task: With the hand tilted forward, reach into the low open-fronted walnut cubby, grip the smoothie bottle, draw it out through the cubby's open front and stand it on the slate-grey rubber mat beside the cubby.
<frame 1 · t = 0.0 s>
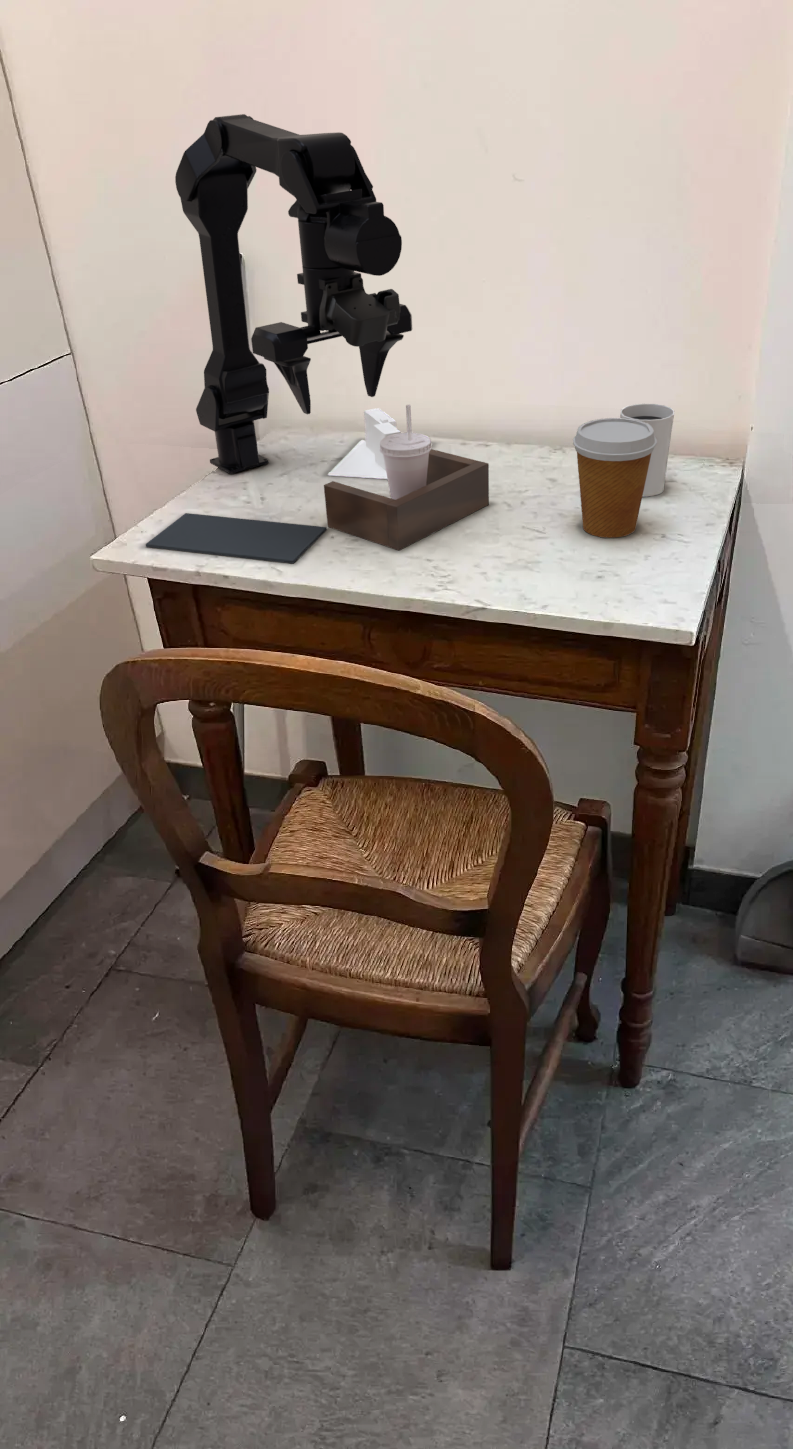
hand: (339, 404, 126), 15 cm above the table, tool pointing down, fingers open, 9 cm apart
napkin holder: (381, 460, 152), on the table
mat: (236, 538, 131), on the table
cubby: (408, 515, 135), on the table
white paper cup: (641, 489, 138), on the table
smoothie: (409, 517, 135), on the table
disposable coffee cup: (609, 529, 128), on the table
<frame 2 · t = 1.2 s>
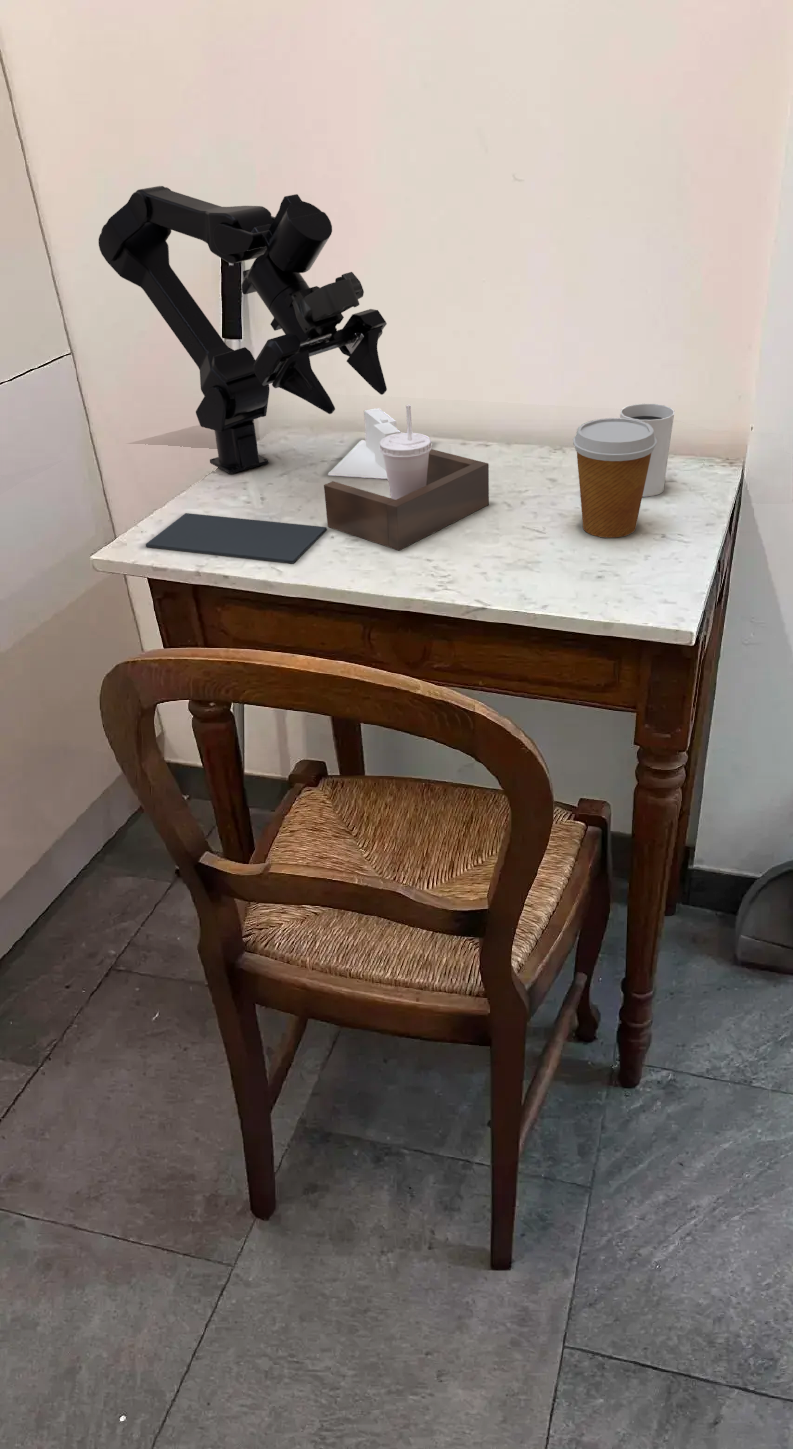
hand: (359, 402, 132), 13 cm above the table, tool tilted 45°, fingers open, 9 cm apart
nothing on the table moved.
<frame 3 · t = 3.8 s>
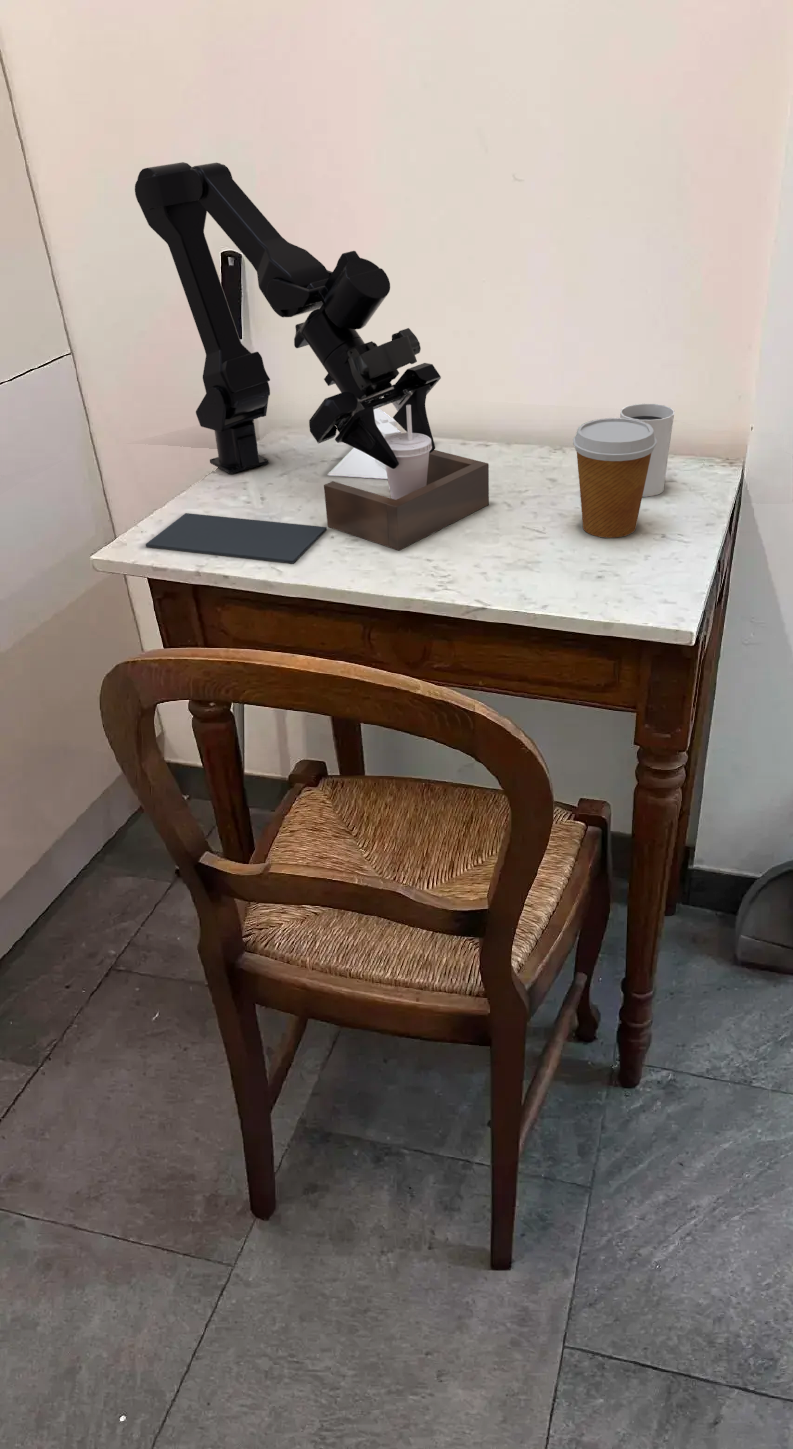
hand: (414, 458, 130), 8 cm above the table, tool tilted 45°, fingers closed on smoothie, 6 cm apart
smoothie: (409, 517, 135), on the table, touching gripper
everything else where it was.
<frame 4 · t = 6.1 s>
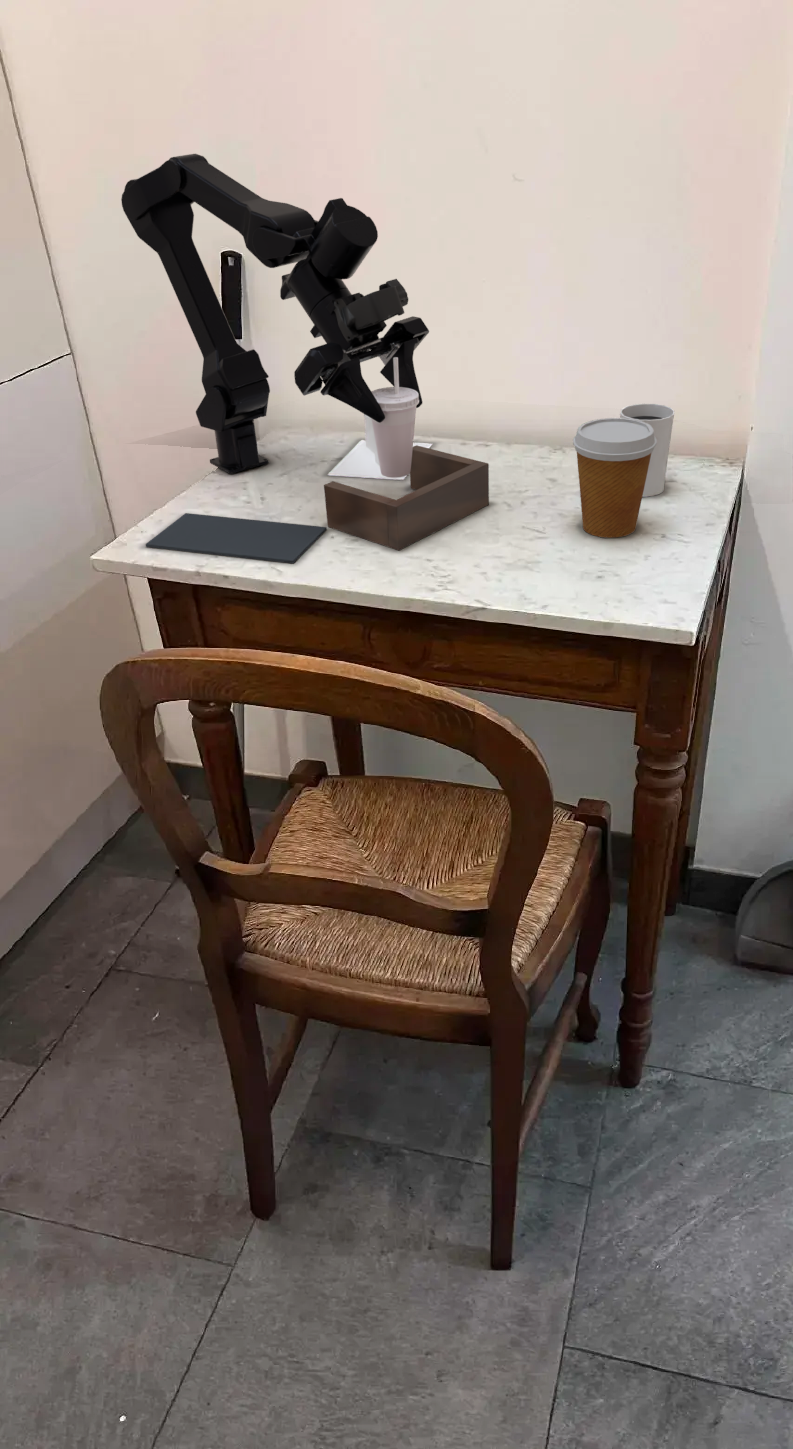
hand: (401, 413, 128), 13 cm above the table, tool tilted 45°, fingers closed on smoothie, 6 cm apart
smoothie: (395, 473, 133), point 5 cm above the table, touching gripper
everything else where it was.
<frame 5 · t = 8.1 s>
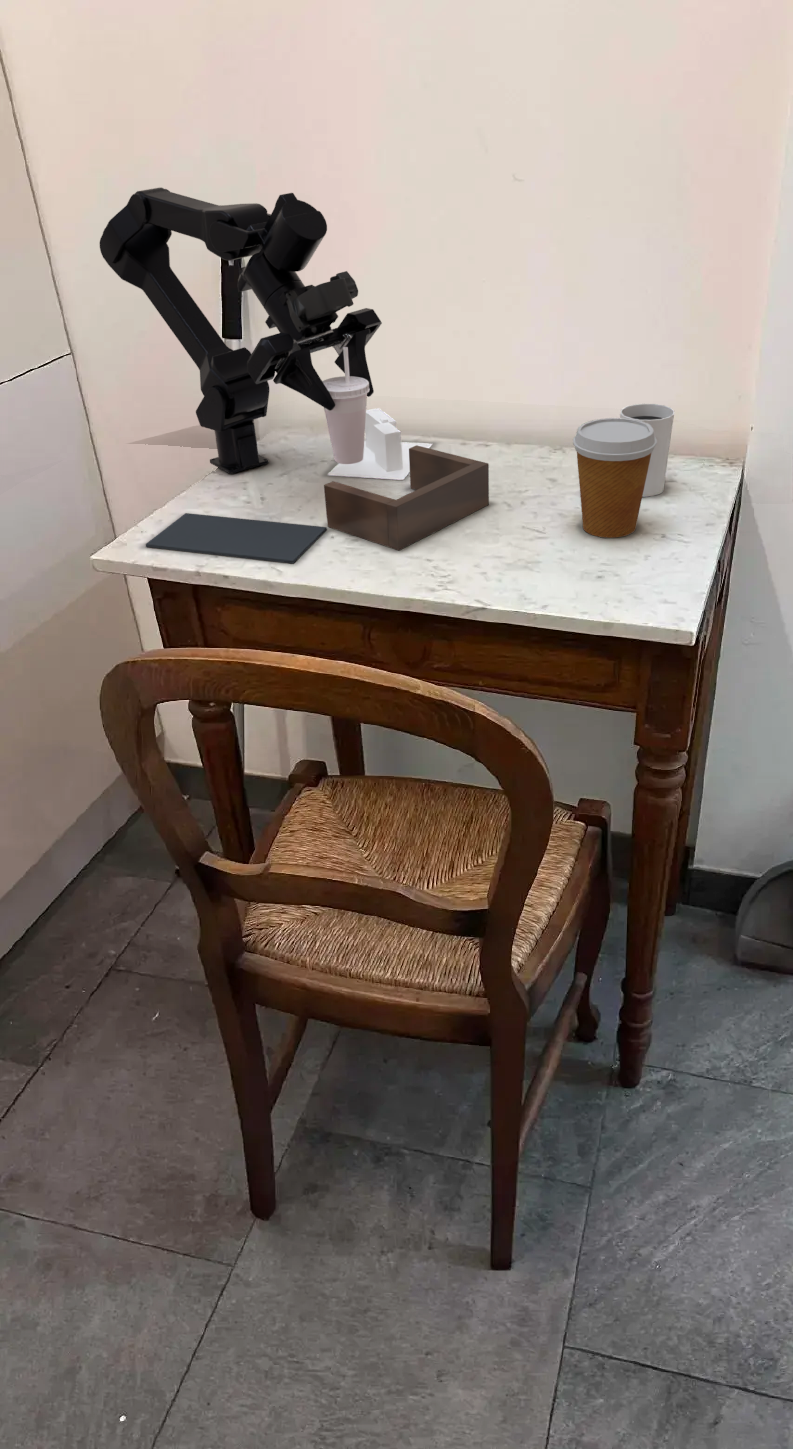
hand: (352, 401, 132), 13 cm above the table, tool tilted 45°, fingers closed on smoothie, 6 cm apart
smoothie: (348, 460, 137), point 5 cm above the table, touching gripper
everything else where it was.
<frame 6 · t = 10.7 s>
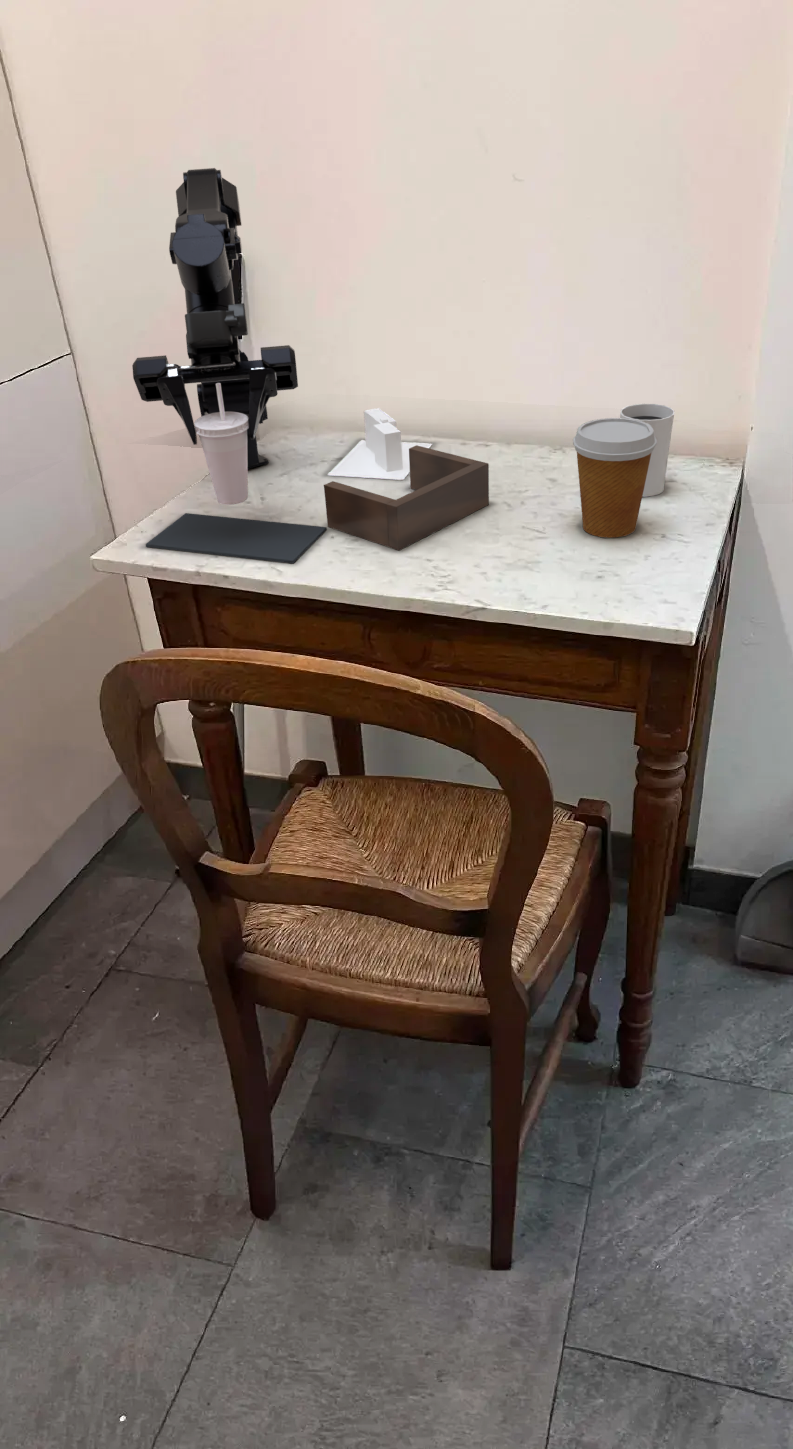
hand: (223, 440, 123), 13 cm above the table, tool tilted 45°, fingers closed on smoothie, 6 cm apart
smoothie: (232, 500, 129), point 5 cm above the table, touching gripper
everything else where it was.
when the fingers open (8 cm above the table, at t = 12.7 s): smoothie stays where it is, resting on mat.
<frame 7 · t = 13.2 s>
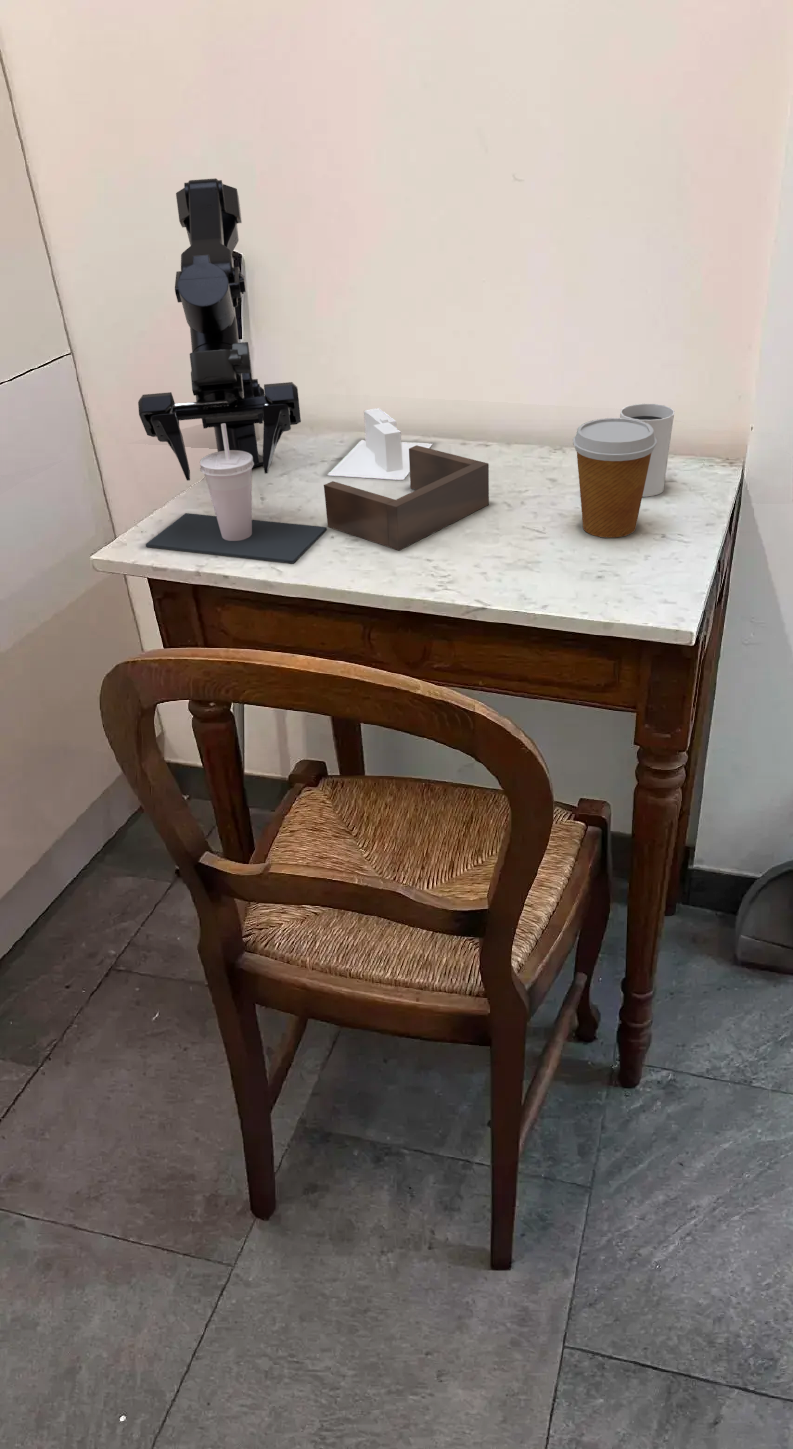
hand: (227, 475, 126), 9 cm above the table, tool tilted 45°, fingers open, 9 cm apart
smoothie: (237, 536, 132), resting on mat
everything else where it was.
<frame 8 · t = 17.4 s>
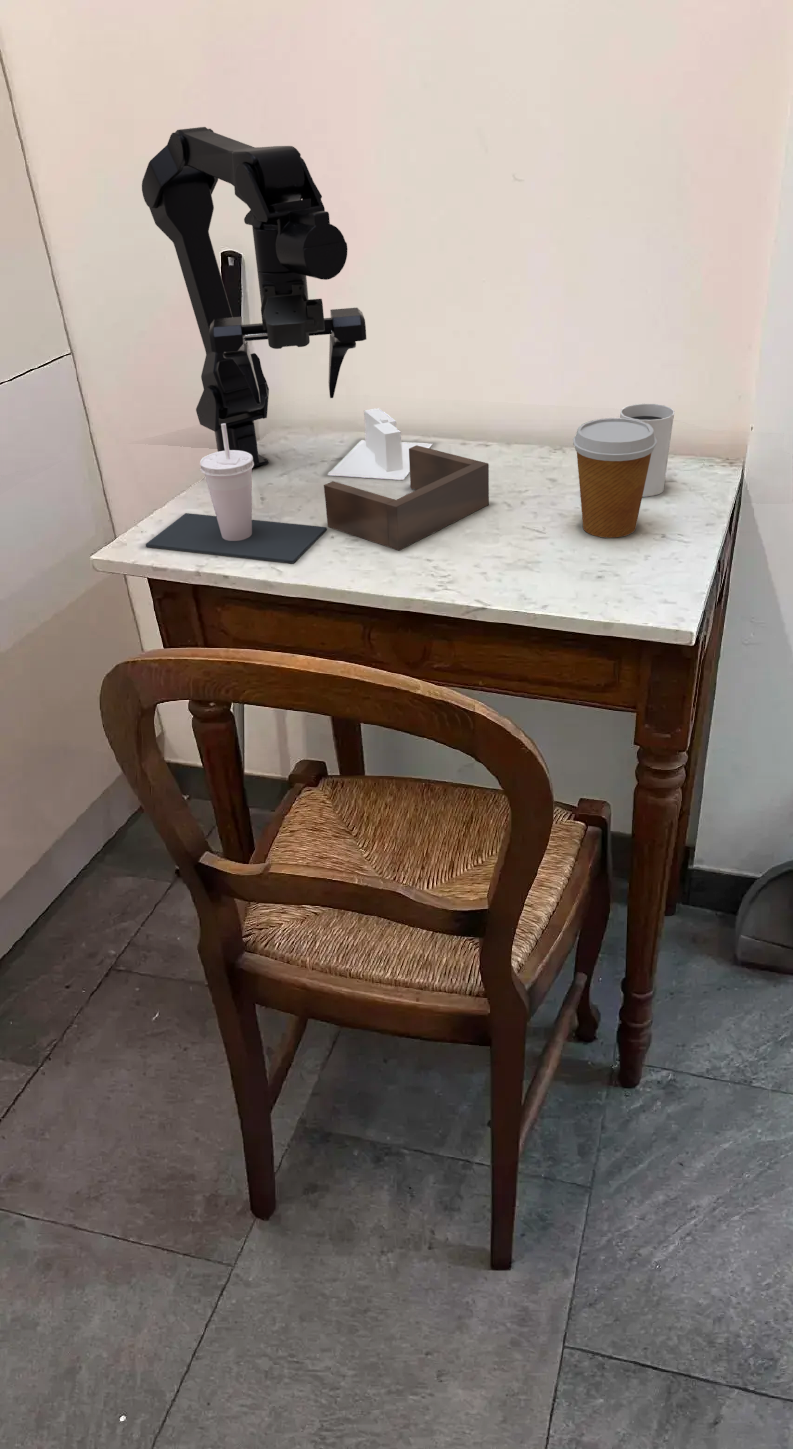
hand: (295, 400, 134), 13 cm above the table, tool pointing down, fingers open, 9 cm apart
nothing on the table moved.
at the end: smoothie 0.2 cm from the mat (horizontally); smoothie tilted 0°; smoothie resting on mat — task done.
